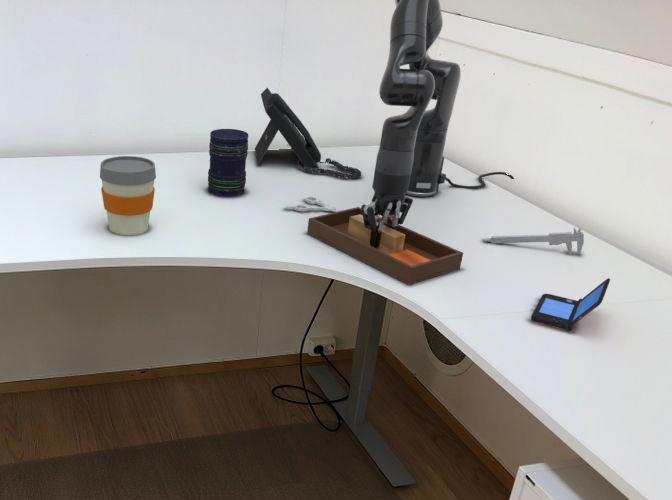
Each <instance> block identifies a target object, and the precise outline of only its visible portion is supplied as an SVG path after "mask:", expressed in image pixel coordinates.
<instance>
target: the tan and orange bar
mask: <svg viewBox="0 0 672 500" xmlns="http://www.w3.org/2000/svg"><path fill="white" fill-rule="evenodd" d="M376 225H377V226H378V222H377V224H376ZM381 232H382V233H381V239H380V245H379V247H378V248H375V247H373V246H371V245H370V236H371V230H370V229H367V228H365V225H364V220H363V216H362V215H355V216H351V217H350V219H349V226H348V233H347V235H348V236H350V237H352V238H355V239H357V240H359V241H361V242H363V243H365V244H367V245H369V246H371V247H373V248H375V249H377V250H380V251H382V252H384V253H386V254H388V255H390V256H392V257H394V258H396V259H398V260H400V261H402V262H405V263H407V264H409V265H411V266H413V265H417V264H420V263H423V262H427V261H430V260H429V259H427V258H425V257H422V256H420V255H418V254H416V253H414V252H412V251H409V250H403V245H404V240H405V234H403V233H400V232H398V231H396V230H394V229H392V228H389V227H387V226H385V225H383V228H382V231H381Z"/></svg>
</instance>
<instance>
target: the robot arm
mask: <svg viewBox="0 0 672 500" xmlns="http://www.w3.org/2000/svg"><path fill="white" fill-rule="evenodd" d="M394 3H395V9H394V10H393V13H392V15H391V21H390V27H389V51H388V57H387V63H386V66H385V69H384V72H383V75H382V78H381V81H380V84H379V90H378V93H379V97H380V101H382V102H383V103H384V104H385V105H387V106H391V107H392V106H393V107H409V108H408V110H407V111H406V112H404V113H402V114H398V115H393V116H389V117H387V118H385V119H384V122H383V124H382V128H381V135H380V143H379V148H378V152H377V155H376V159H375V166H374V173H373V179H372V189H373V193H374V194H373V196H372V198H371V202H369V203H368V204H367V205H366V203H365V204H362V205H361V206H360V208H361V209H362V215H363V220H364V225H365V228H367V229H370V230H371V236H370V245H371V246H373V247H375V248H378V247H379V245H380V239H381V233H382V232H381V231H382V228H383V225H384V223H385V222H386V225H387V227H389V228H392V229H394V230H395V228H397V225H401V226H402V225H403V224H404V222H405V219H406V218H407V216H408V213H409V212H410V209H411V207H412V205H413V202H414V199H413V198H411V197H417V198H428V197H429V198H430V197H433V196H436V193H438V192H439V187H440V185H441V184H442V185H443V184H445V182H447V183H448V185H450V186H452V187H454V188H459V189H468V190H469V189H473V190H474V189H481V188H484V187H485V186H486V182H485V181H484V180H483V178H485V177H490V176H496V175H504V176H507V177H508V178H510V180H515V178H514V176H513V175H512V174H510V175H507V174H506V173H507V172H505V171H493V172H489V173H484V174H480V175H478V178H477V179H478V181H479V182H480V183H481V184H479V185H462V184H456V183H453V182H452V181H451V179H450V178H449V177H448V176H447V174H446V173H443V168H444V162H445V156H444V150H445V147H446V146H445V145H446V140H447V137H448V136H447V135H448V131H449V130H448V129H449V125H450V122H451V118H452V116H453V110H454V107H455V101H456V98H457V94H458V90H459V86H460V82H461V75H462V74H461V73H462V72H461V66H460V64H458V63H456V62H452V61H446V60H441V59H435V58H431V57H430V54H429V50H430V49H431V47H432V46H433V45H434V44H435V42H436V41H437V40H438V38H439V36H440V34H441V32H442V29H443V23H444V21H443V20H444V19H443V14H442V9H441V4H440V3H441V2H440V0H394ZM406 65H408V68H401V67H403V66H406ZM431 100H433V101H436V103H435V105H434V107H433V108H430V109H427V108H428V106H429V104H430V102H431ZM409 196H411V197H409ZM400 214H401V215H400ZM377 221H379V223H378V226H377V225H376V224H377Z"/></svg>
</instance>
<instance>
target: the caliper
mask: <svg viewBox="0 0 672 500" xmlns="http://www.w3.org/2000/svg"><path fill="white" fill-rule="evenodd" d="M584 235H585V233H584V231H582V228H581V227H579V228H578V229H576V227H573V233H572V231H561V232H559V231H558V232H549V234H524V235H523V234H522V235H520V234H519V235H491V236H490V237H488V238H487V237H486V238H484V242H490V244H491V245H493V244H523V243H525V244H527V243H548V245H549V246H559V245H562V244H565V246H566V250H567V252H568V255H572V251H573V242H576V249H577V251H576V254H577V255H580V254H581V252H582V249H583V246H584V244H585V243H584V242H585V236H584Z"/></svg>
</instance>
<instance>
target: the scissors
mask: <svg viewBox="0 0 672 500" xmlns="http://www.w3.org/2000/svg"><path fill="white" fill-rule="evenodd" d="M304 202H306V203H307V204H311V205H312V204H313V205H318V206H319V207H318V206H316V207H315V206H309V205H307V204H295V205H285V210H295V211H297V212H308V211H315V212H317V211H324V212H331V213H334V212H338V211H343V210H344V209H341V208H336V207H334V206H331V205H329V204H328V205H327V204H324V202H321V201H320V200H319V198H317V197H314V196H306V197H305V198H304Z"/></svg>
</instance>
